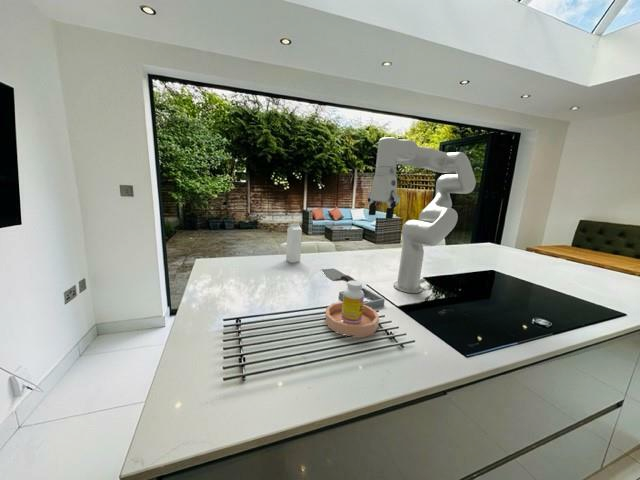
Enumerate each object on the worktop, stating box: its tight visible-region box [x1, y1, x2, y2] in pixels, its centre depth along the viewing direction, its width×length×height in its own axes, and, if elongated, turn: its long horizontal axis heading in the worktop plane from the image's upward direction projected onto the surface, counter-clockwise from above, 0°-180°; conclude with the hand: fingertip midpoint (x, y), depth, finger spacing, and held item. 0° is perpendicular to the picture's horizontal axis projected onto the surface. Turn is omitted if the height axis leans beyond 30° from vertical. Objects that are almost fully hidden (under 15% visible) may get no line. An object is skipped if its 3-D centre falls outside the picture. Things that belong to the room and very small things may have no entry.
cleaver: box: [321, 268, 357, 283], centre depth 130 cm, size 29×10×2 cm, turn 27°
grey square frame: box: [338, 287, 385, 308], centre depth 106 cm, size 13×13×2 cm
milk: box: [285, 222, 303, 264], centre depth 152 cm, size 6×6×22 cm
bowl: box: [324, 301, 380, 338], centre depth 89 cm, size 17×17×4 cm
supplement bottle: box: [342, 280, 365, 324], centre depth 88 cm, size 7×7×13 cm
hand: (380, 216), depth 106 cm, fingers open, 9 cm apart
